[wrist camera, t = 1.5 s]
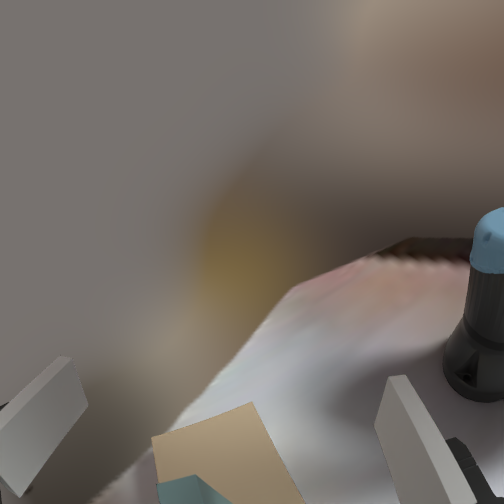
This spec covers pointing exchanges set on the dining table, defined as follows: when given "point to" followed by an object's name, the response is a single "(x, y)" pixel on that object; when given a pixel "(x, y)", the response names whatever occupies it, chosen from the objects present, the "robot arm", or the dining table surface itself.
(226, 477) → the carton lid
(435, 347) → the dining table surface
